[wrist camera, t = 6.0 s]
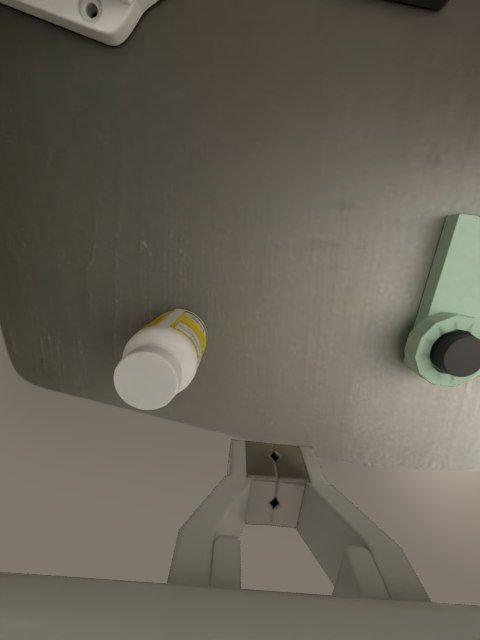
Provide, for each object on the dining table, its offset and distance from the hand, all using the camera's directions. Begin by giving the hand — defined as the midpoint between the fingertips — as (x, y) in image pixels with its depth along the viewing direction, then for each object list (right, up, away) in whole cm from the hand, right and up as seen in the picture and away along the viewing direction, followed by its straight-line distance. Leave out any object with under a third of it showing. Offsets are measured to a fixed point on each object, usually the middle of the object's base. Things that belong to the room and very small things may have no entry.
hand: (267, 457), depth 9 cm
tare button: (+18, +2, +13) cm, 22 cm away
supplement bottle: (-7, +4, +16) cm, 18 cm away
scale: (+22, +7, +15) cm, 27 cm away
